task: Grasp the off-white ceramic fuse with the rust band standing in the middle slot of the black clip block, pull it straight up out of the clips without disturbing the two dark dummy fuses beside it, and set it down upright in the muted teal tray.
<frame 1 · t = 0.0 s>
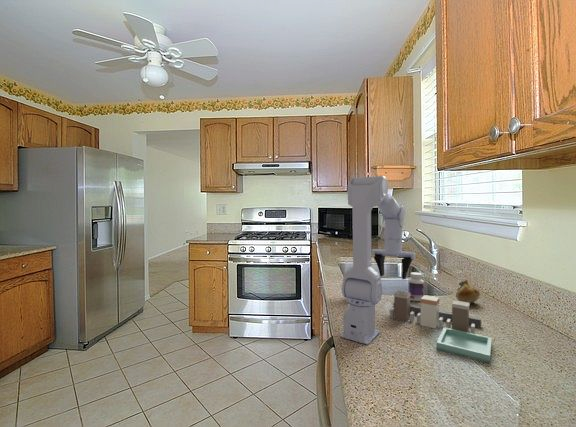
hand: (392, 277, 105), 10 cm above the countertop, fingers open, 7 cm apart
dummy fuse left: (402, 318, 94), resting in clip block
pill bottle: (415, 299, 113), on the countertop
clip block: (429, 324, 90), on the countertop
beer can: (362, 298, 115), on the countertop
onion: (466, 303, 108), on the countertop
marked fuse: (429, 311, 89), in the clip block
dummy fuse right: (460, 331, 85), resting in clip block
tray: (464, 346, 76), on the countertop
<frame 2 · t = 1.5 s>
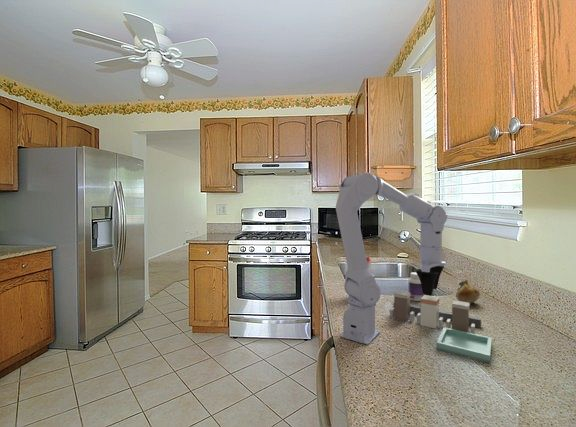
hand: (430, 291, 89), 10 cm above the countertop, fingers open, 7 cm apart
nothing on the countertop moved.
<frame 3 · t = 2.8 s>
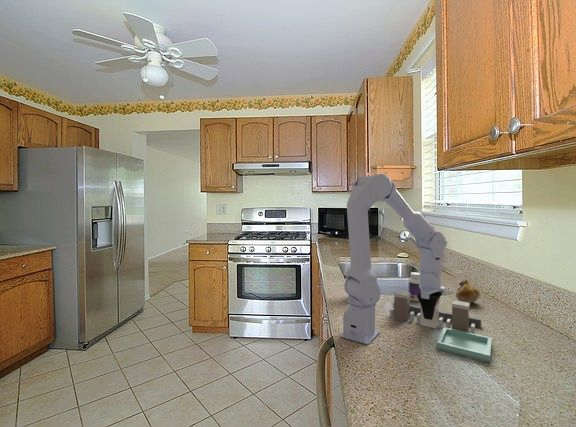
hand: (429, 316, 89), 2 cm above the countertop, fingers closed on marked fuse, 4 cm apart
marked fuse: (429, 311, 89), in the clip block, touching gripper
everything else where it was.
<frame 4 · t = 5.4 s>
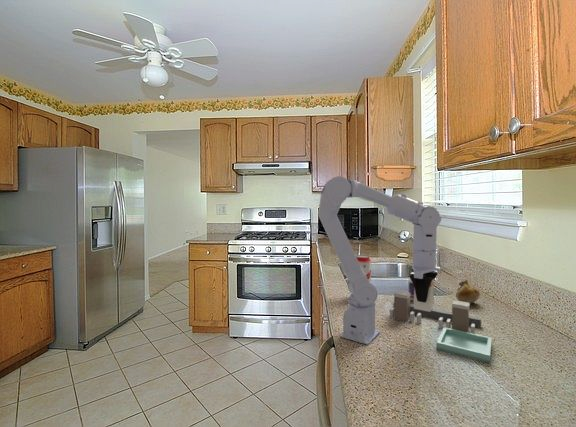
hand: (423, 299, 82), 10 cm above the countertop, fingers closed on marked fuse, 4 cm apart
marked fuse: (423, 293, 82), point 11 cm above the countertop, touching gripper
everything else where it was.
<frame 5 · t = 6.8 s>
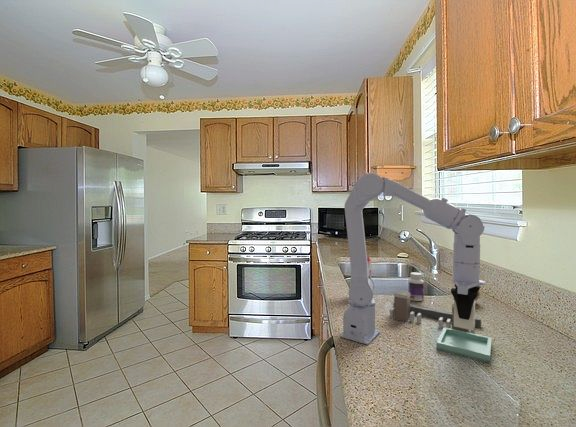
hand: (465, 315, 75), 8 cm above the countertop, fingers closed on marked fuse, 4 cm apart
marked fuse: (464, 309, 75), point 10 cm above the countertop, touching gripper
everything else where it was.
when the fingers open (4 cm above the countertop, at t = 7.9 s): marked fuse stays where it is, resting on tray.
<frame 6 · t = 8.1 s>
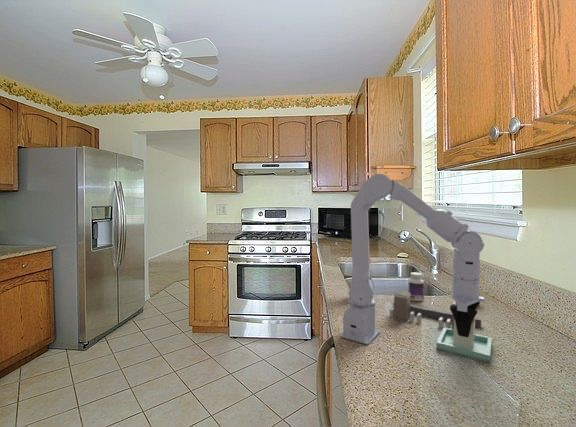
hand: (464, 331, 75), 4 cm above the countertop, fingers open, 6 cm apart
marked fuse: (464, 328, 75), in the tray, point 5 cm above the countertop
everything else where it was.
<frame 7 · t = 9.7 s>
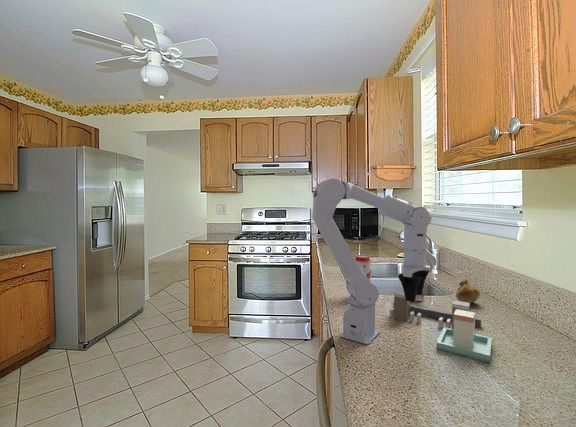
hand: (413, 297, 84), 10 cm above the countertop, fingers open, 7 cm apart
nothing on the countertop moved.
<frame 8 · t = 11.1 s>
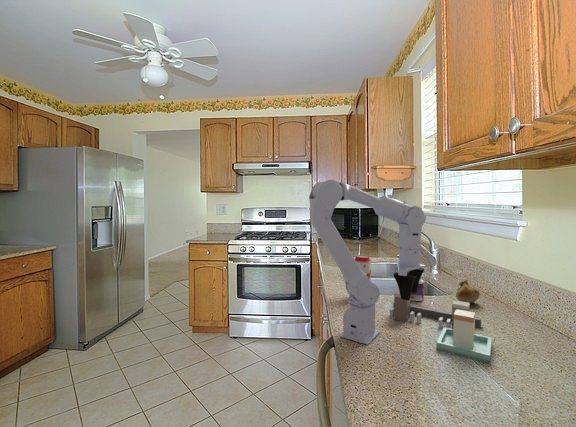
hand: (409, 296, 85), 10 cm above the countertop, fingers open, 7 cm apart
nothing on the countertop moved.
at the end: marked fuse inside the target area on the tray (0.1 cm from its centre), point 4.6 cm above the tray's base; marked fuse tilted 0°; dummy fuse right moved 0.0 cm from its start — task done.
